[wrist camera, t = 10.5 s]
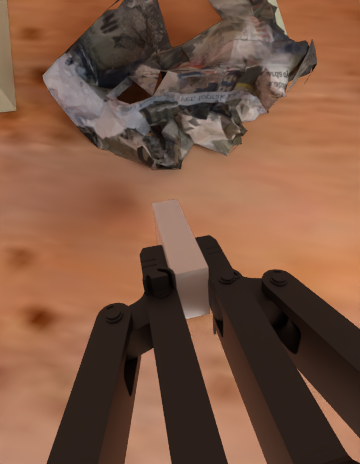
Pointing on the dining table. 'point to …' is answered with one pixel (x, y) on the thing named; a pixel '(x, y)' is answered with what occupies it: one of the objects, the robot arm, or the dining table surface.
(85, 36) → the grey crumpled lump
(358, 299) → the dining table surface
